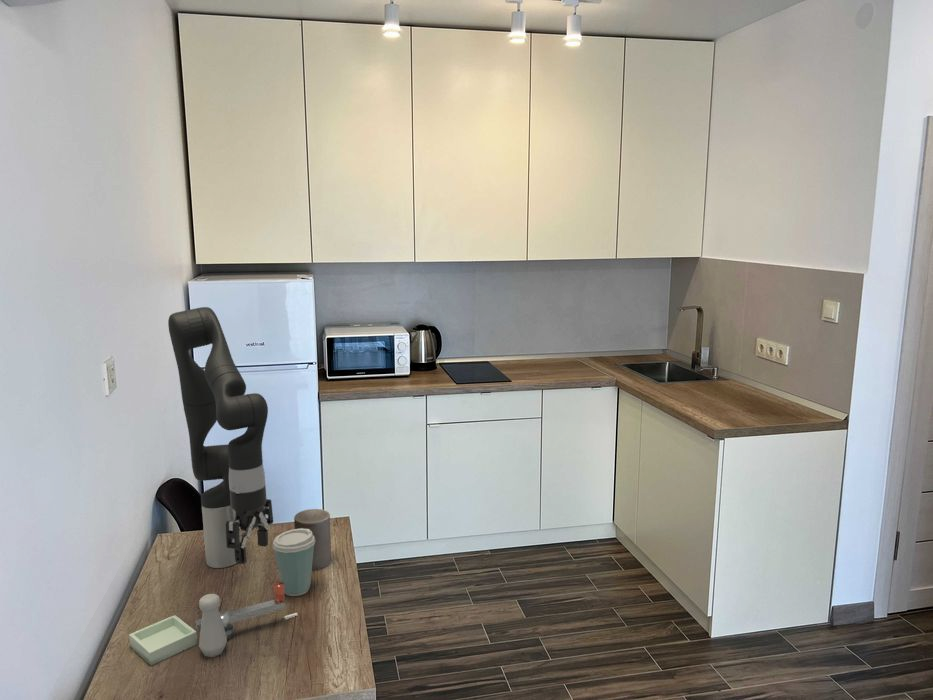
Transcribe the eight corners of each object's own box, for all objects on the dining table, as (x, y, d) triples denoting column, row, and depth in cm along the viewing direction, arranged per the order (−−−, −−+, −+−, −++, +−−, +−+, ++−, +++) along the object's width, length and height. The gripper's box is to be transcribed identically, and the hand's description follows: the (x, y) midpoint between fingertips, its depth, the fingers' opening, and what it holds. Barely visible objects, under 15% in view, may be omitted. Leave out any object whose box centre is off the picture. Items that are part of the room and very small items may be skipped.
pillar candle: (289, 568, 191) (286, 516, 188) (306, 552, 200) (304, 502, 197) (322, 572, 188) (319, 520, 185) (338, 556, 197) (336, 506, 195)
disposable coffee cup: (276, 604, 173) (272, 547, 170) (273, 583, 183) (270, 529, 180) (320, 596, 176) (317, 540, 173) (315, 576, 186) (312, 523, 183)
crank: (198, 638, 155) (195, 609, 154) (196, 630, 158) (193, 602, 157) (287, 614, 164) (285, 586, 163) (283, 606, 167) (281, 580, 166)
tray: (130, 646, 156) (129, 634, 155) (175, 626, 163) (174, 615, 163) (151, 665, 149) (149, 652, 148) (197, 643, 157) (196, 631, 156)
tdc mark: (285, 619, 166) (285, 617, 166) (284, 618, 166) (284, 616, 166) (297, 616, 167) (297, 614, 167) (296, 614, 168) (296, 612, 168)
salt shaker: (218, 661, 150) (213, 605, 148) (194, 658, 151) (189, 602, 149) (232, 645, 156) (228, 591, 154) (209, 642, 157) (204, 589, 155)
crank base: (209, 637, 159) (209, 629, 159) (227, 628, 162) (226, 620, 162) (219, 644, 156) (218, 636, 156) (237, 636, 159) (236, 627, 159)
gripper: (251, 472, 161) (255, 538, 163) (212, 495, 147) (218, 567, 150) (280, 475, 158) (284, 542, 161) (243, 498, 145) (248, 571, 148)
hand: (252, 554), depth 156 cm, fingers open, 8 cm apart
